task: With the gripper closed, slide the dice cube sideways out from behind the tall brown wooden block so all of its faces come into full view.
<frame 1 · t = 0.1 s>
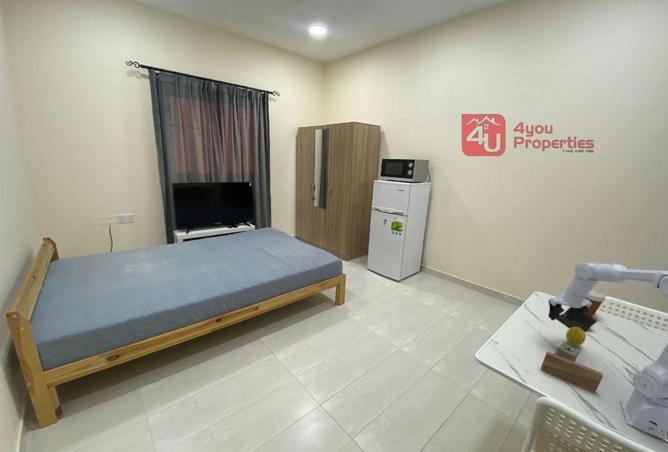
hand: (560, 318, 106), 11 cm above the table, tool pointing down, fingers open, 7 cm apart
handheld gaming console: (571, 324, 122), on the table
dice cube: (563, 360, 100), on the table
disposable coffee cup: (583, 314, 129), on the table
brown wooden block: (566, 379, 91), on the table
lemon: (572, 345, 108), on the table
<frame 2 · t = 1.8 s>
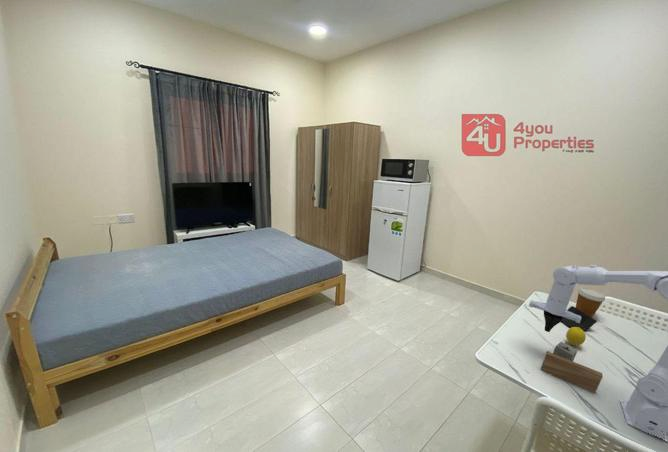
hand: (546, 330, 101), 9 cm above the table, tool pointing down, fingers closed
nothing on the table moved.
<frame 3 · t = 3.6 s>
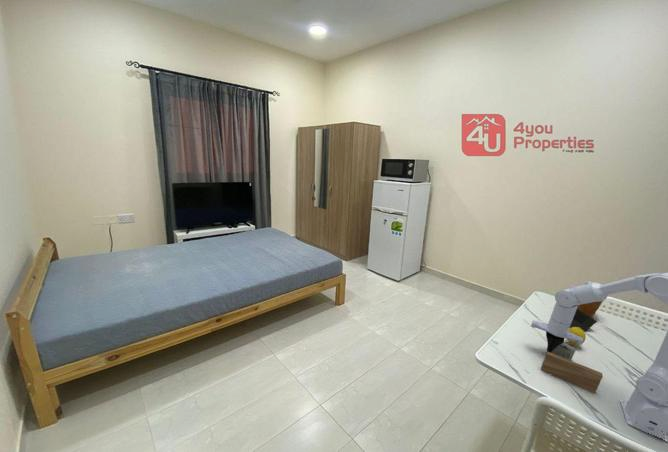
hand: (548, 350, 102), 1 cm above the table, tool pointing down, fingers closed
dice cube: (560, 358, 101), on the table, touching gripper
everything else where it was.
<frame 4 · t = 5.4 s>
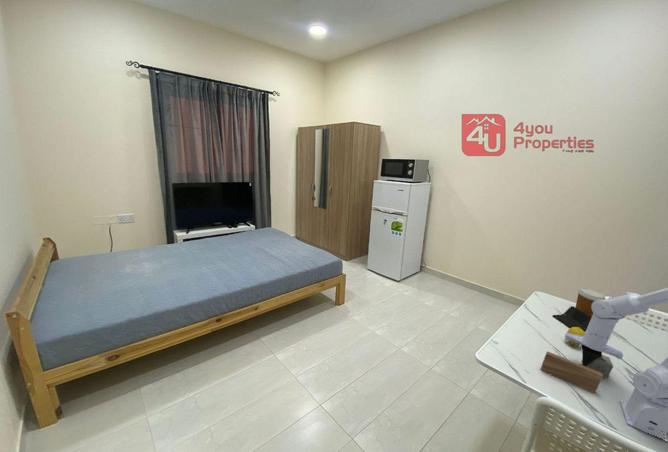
hand: (584, 364, 96), 1 cm above the table, tool pointing down, fingers closed
dice cube: (595, 370, 96), on the table, touching gripper
everything else where it was.
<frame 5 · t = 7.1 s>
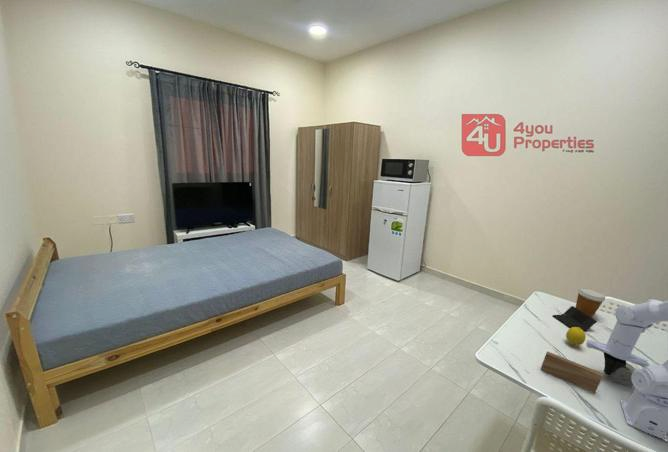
hand: (606, 373, 93), 1 cm above the table, tool pointing down, fingers closed
dice cube: (618, 378, 93), on the table, touching gripper
everything else where it was.
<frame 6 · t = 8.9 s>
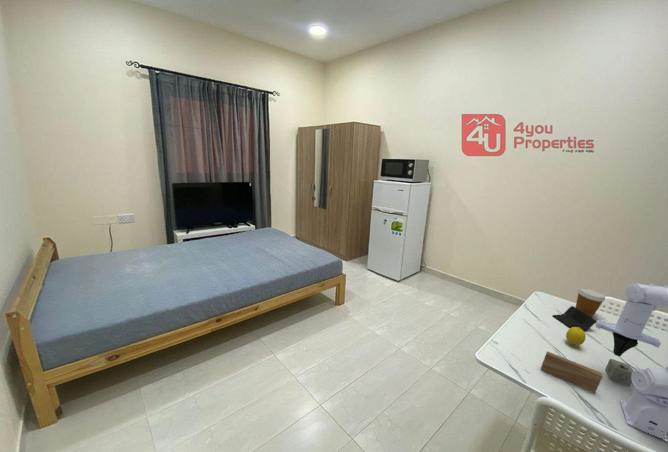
hand: (616, 353, 91), 9 cm above the table, tool pointing down, fingers closed
dice cube: (616, 378, 94), on the table
everything else where it was.
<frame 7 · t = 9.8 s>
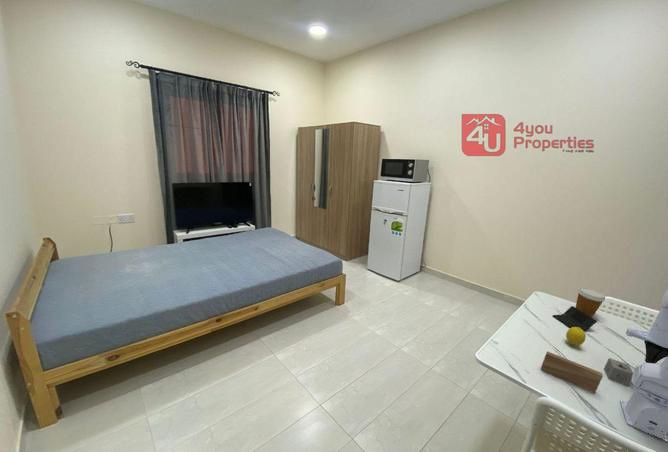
hand: (648, 363, 88), 9 cm above the table, tool pointing down, fingers closed
nothing on the table moved.
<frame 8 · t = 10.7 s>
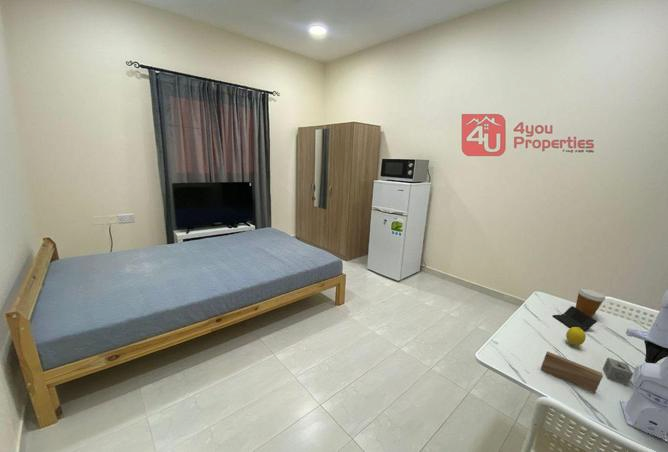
hand: (648, 363, 88), 9 cm above the table, tool pointing down, fingers closed
nothing on the table moved.
at the end: dice cube inside the target area (2.7 cm from its centre), on the table; dice cube moved 13.8 cm from its start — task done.
